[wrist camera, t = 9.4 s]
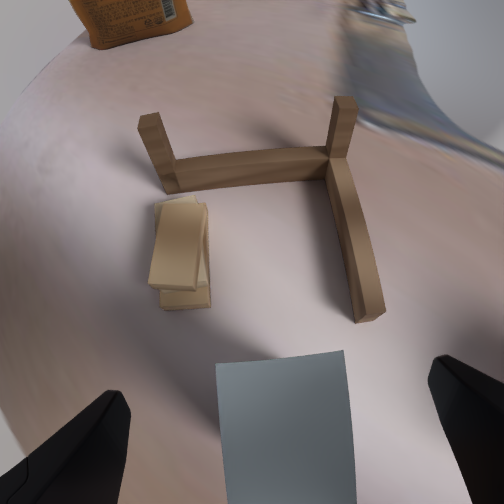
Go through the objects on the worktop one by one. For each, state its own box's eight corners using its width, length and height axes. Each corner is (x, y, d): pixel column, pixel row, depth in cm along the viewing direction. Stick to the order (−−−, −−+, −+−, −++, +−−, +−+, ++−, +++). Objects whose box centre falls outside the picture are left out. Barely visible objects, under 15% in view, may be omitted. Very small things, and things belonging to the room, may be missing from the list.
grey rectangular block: (308, 452, 15) (357, 524, 5) (252, 457, 15) (232, 539, 5) (300, 372, 17) (343, 350, 7) (245, 377, 17) (215, 363, 7)
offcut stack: (214, 307, 19) (205, 292, 17) (159, 310, 19) (143, 297, 17) (211, 209, 22) (203, 184, 20) (163, 215, 22) (150, 191, 20)
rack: (373, 320, 18) (421, 284, 12) (163, 341, 19) (113, 314, 12) (336, 166, 23) (353, 96, 17) (168, 182, 24) (140, 115, 17)
